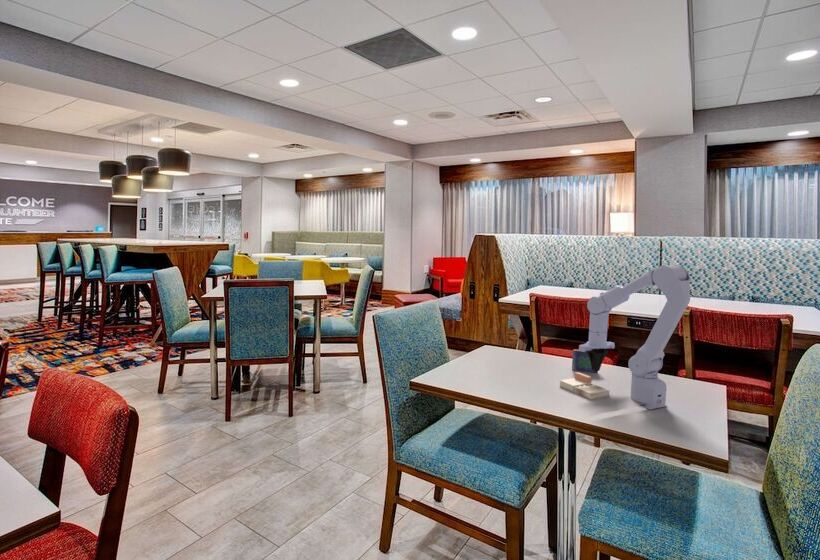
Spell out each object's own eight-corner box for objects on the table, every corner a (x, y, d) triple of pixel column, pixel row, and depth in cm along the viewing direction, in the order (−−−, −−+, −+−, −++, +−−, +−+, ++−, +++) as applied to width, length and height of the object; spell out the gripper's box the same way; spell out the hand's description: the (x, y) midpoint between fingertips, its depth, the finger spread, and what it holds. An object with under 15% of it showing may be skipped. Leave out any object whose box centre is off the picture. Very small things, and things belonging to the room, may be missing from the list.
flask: (571, 373, 175) (572, 345, 174) (572, 371, 177) (573, 344, 176) (597, 376, 171) (599, 348, 170) (597, 374, 173) (599, 346, 172)
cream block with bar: (591, 388, 153) (591, 377, 153) (572, 391, 150) (573, 379, 149) (577, 383, 158) (578, 372, 158) (559, 386, 155) (560, 374, 155)
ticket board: (616, 399, 146) (616, 390, 146) (568, 408, 138) (568, 398, 138) (578, 384, 161) (578, 376, 160) (533, 391, 152) (533, 382, 152)
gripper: (604, 327, 163) (601, 364, 164) (573, 330, 157) (571, 369, 158) (620, 331, 156) (618, 370, 158) (589, 334, 150) (586, 375, 152)
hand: (595, 370), depth 157 cm, fingers closed
